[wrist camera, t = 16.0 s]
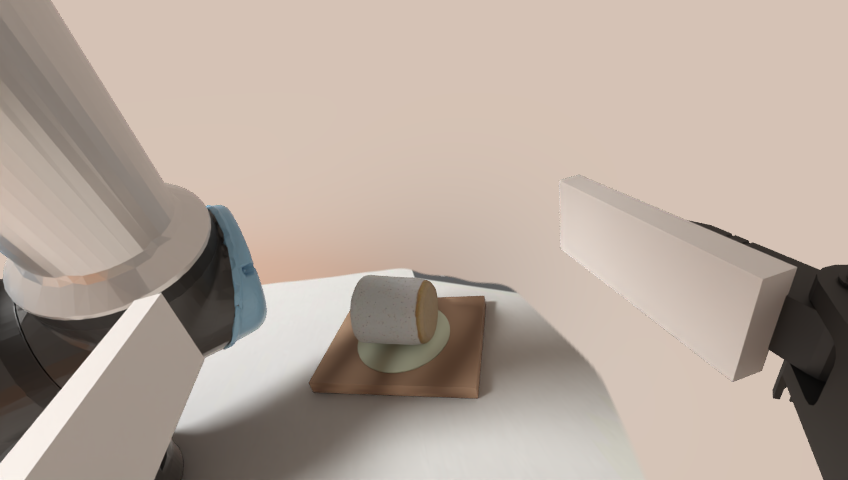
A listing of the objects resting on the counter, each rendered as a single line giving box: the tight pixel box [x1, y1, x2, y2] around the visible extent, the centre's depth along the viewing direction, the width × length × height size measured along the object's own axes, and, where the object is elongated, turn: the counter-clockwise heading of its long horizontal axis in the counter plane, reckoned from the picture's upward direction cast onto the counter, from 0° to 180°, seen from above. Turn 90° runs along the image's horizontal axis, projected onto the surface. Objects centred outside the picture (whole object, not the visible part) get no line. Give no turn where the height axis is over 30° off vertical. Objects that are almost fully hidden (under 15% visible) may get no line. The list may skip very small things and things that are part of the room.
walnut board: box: [309, 296, 486, 398], centre depth 43 cm, size 18×14×2 cm
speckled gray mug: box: [350, 275, 438, 345], centre depth 42 cm, size 11×8×8 cm
